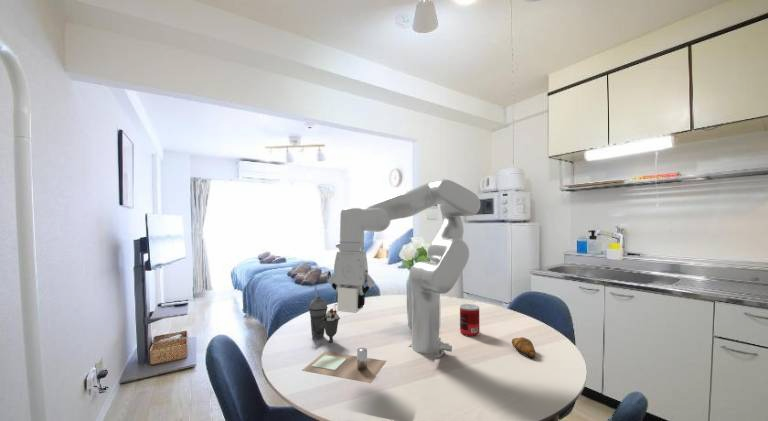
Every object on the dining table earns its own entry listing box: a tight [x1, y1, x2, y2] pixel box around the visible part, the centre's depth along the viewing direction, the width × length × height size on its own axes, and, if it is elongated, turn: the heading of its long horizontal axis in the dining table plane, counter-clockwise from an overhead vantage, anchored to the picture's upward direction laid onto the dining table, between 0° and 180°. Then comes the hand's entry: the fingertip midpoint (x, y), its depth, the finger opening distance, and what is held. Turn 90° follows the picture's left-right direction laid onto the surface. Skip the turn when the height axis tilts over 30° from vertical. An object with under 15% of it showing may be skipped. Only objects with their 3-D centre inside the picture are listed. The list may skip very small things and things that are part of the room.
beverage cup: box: [308, 286, 328, 340], centre depth 121 cm, size 7×7×20 cm
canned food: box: [459, 303, 480, 337], centre depth 126 cm, size 8×8×11 cm
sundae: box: [322, 303, 341, 344], centre depth 112 cm, size 7×7×15 cm
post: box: [356, 347, 368, 371], centre depth 92 cm, size 3×3×6 cm
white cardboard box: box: [336, 285, 364, 314], centre depth 94 cm, size 6×6×7 cm
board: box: [301, 351, 387, 384], centre depth 94 cm, size 22×14×2 cm, turn 72°
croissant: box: [511, 336, 536, 359], centre depth 108 cm, size 14×7×5 cm, turn 4°
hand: (350, 305), depth 94 cm, fingers closed on white cardboard box, 6 cm apart
